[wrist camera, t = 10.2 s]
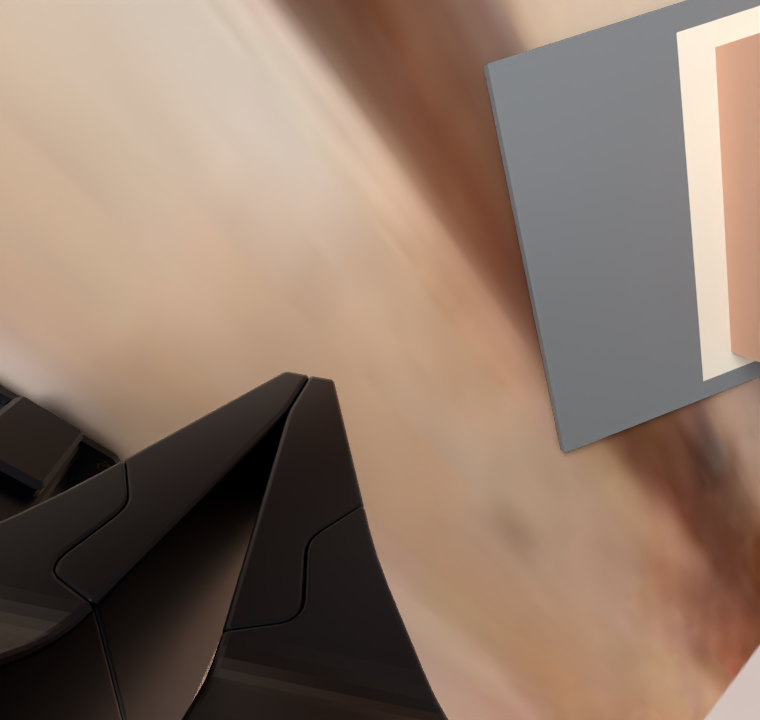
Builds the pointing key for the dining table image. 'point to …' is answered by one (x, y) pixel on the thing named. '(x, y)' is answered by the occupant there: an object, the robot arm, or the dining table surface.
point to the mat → (624, 213)
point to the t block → (741, 186)
